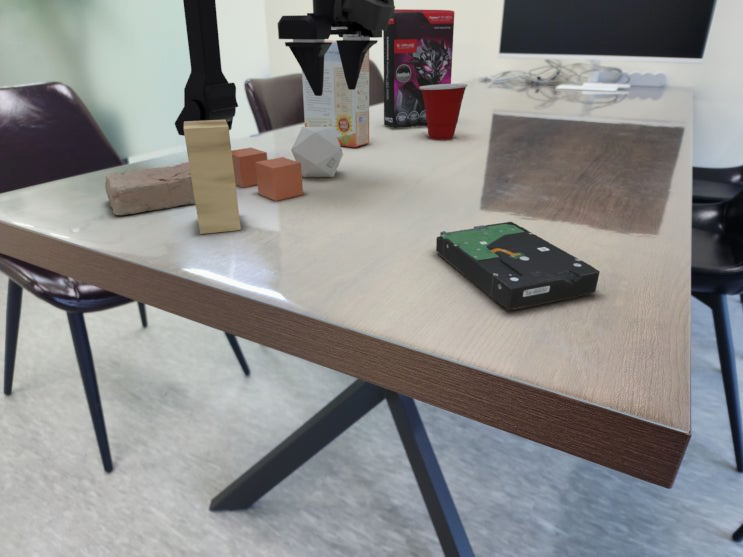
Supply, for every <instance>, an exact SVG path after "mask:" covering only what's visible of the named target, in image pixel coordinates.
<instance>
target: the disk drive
mask: <svg viewBox="0 0 743 557" xmlns="http://www.w3.org/2000/svg"><path fill="white" fill-rule="evenodd" d="M435 242H436V243H435V250H436V252H437V253H438V255H439V256H440V257H442V259H444V260H445V261H446V262H448V263H449V264H450V265H451V266H452V267H453V268H455V269H456V270H458V271H459V273H461V274H462V275H464V276H465V277H466V278H467V279H469V280H470V281H471V282H472V283H473V284H475V285H476V286H477V287H478V288H480V289H481V290H482V291H483V292H484V293H485V294H487V295H488V296H489V297H490V298H492V300H494V301H495V302H497V303H498V304H499V305H501V306H502V307H504V308H505V309H506V310H517V309H524V308H529V307H535V306H539V305H544V304H549V303H554V302H558V301H563V300H569V299H573V298H578V297H582V296H585V295H589V294H593V293H596V291H597V286H598V282H599V277H600V272H601V271H600V270H599V269H597V268H595V267H594V266H592V265H591V264H589V263H587V262H585V261H584V260H582V259H579V258H577V257H576V256H574V255H573V254H570V253H568V252H567V251H565V250H563V249H562V248H559V247H558V246H556V245H554V244H553V243H550V242H549V241H547V240H546V239H544V238H542V237H540V236H539V235H537V234H534V233H533V232H531V231H529V230H528V229H526V228H524V227H523V226H519V225H518V224H517V223H516V222H515V223H514V222H513V221H507V222H500V223H499V222H498V223H492V224H486V225H477V226H476V225H475V226H473V228H467V229H461V230H455V231H448V232H447V231H445V230H443V231H440V234H439V236H436V241H435Z"/></svg>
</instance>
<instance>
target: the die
mask: <svg viewBox="0 0 743 557" xmlns="http://www.w3.org/2000/svg"><path fill="white" fill-rule="evenodd" d="M290 151H291V153H292V155H293V158H294V161H297V162H300V163H301V170H302V178H334V177H335V174H336V172H337V169H338V167H339V165H340V163H341V160H342V158H343V156H344V152H343V149H342V146H341V145H340V144H339V141H338V139H337V136H336V134H335V131H334V129H333V127H305V126H302V127H301V128H300V131H299V133H298V135H297V136H296V138H295V141H294V143H293V145H292V147H291V149H290Z"/></svg>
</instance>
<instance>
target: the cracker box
mask: <svg viewBox="0 0 743 557" xmlns="http://www.w3.org/2000/svg"><path fill="white" fill-rule="evenodd" d="M325 42H332V45H331V46H330V48H329V49H328V51H327V52H326V54H325V56H324V79H323V93H322V96H315V95H314V93H313V91H312V89H311V87H310V85H309V83H308V81H307V79H306V77H305V75H304V73H303V71H302V70H301V78H302V81H301V82H302V96H303V98H302V99H303V118H304V127H333V129H334V131H335V134H336V136H337V139H338V141H339V144H340V146H341V147H349V148H357V147H361V146H365V145H368V144H370V49H369V50H368V51H367V52H366V54H365V57H364V60H363V63H362V67H361V70H360V74H359V78H358V81H357V85H356V88H355V90H349V89H348V86H347V83H346V80H345V75H344V71H343V67H342V63H341V59H340V54H339V50H338V46H337V42H336V40H333V39H331V40H329V39H325Z"/></svg>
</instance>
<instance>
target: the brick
mask: <svg viewBox="0 0 743 557" xmlns="http://www.w3.org/2000/svg"><path fill="white" fill-rule="evenodd" d="M104 186H105V192H106V195H107V198H108V203H109V207H111V209H112V213H113V214H114V215H116V216H126V215H127V216H128V215H133V214H138V213H144V212H147V211H148V212H151V211H157V210H164V209H172V208H175V207H179V206H187V205H196V204H195V198H194V191H193V185H192V179H191V172H190V166H189V161H187V162H181V163H178V164H176V165H175V164H174V165H172V166H161V167H160V166H159V167H152V168H140V169H139V168H138V169H132V170H129V171H124V170H123V171H120V172H112V173H108V174H106V175H105V183H104Z"/></svg>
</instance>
